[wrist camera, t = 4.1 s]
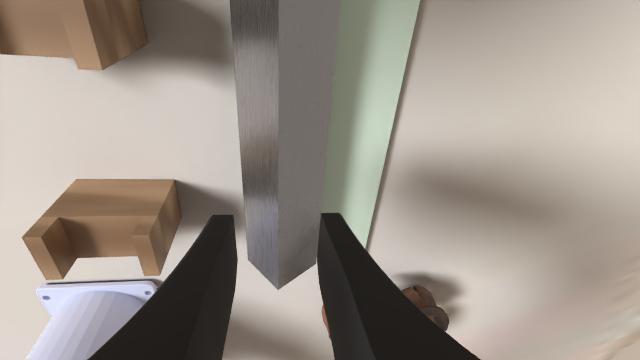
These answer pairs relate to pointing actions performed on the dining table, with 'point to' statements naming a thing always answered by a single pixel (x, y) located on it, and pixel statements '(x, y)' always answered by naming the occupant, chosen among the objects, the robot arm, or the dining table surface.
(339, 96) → the mat
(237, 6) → the rail
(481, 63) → the dining table surface
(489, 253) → the dining table surface
